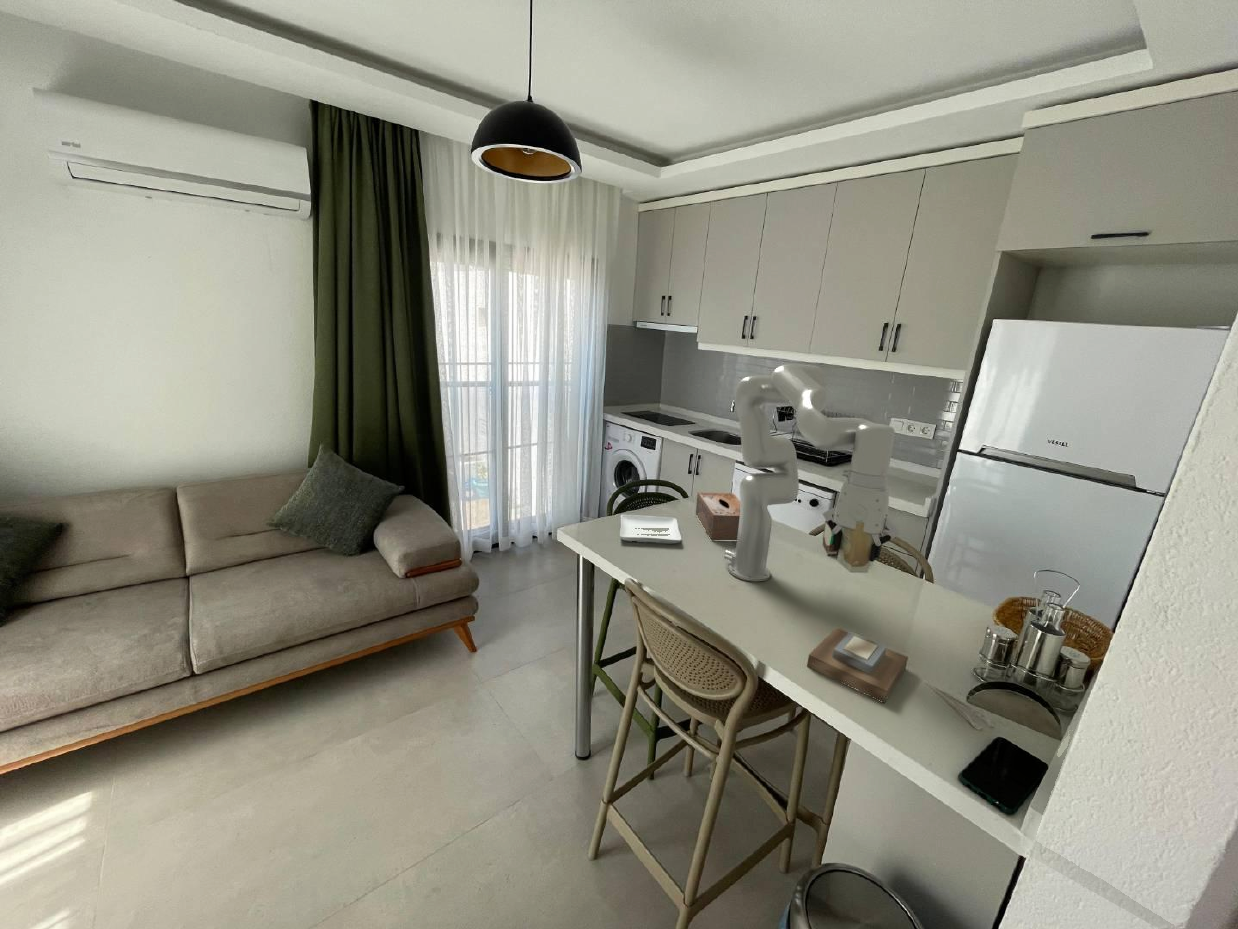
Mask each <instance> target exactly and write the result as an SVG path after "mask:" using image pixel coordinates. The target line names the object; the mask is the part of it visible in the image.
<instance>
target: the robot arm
mask: <svg viewBox="0 0 1238 929" xmlns="http://www.w3.org/2000/svg"><path fill="white" fill-rule="evenodd" d="M826 384H827V378H826V374H825V372H824V370H822V368H820V366H817V365H813V364H801V363H800V364H798V363H797V364H795V363H788V364H787V363H786V364H782V365H780V366H778V367H777V368H775V369H774V370H773V372H772V373H771V375H765V374H763V375H762V374H759V375H758V374H757V375H749V376H746V377H744V378H743V379H741V380H740V381H739V382H738V384H737V386H736V388H735V391H734V405H735V406H734V407H735V409H736V413H737V417H738V420H739V421H738V422H739V427H740V428H739V429H740V442H741V454H742V461H743V464H744V465H745V466H746V467H747V468H748V469H773V472H757V473H751V474H748V475H746V476H744V477H743V478H742V479H741V481H740V484H739V500H740V518H739V527H738V535H737V542H736V543H735V544H736V545H735V552H732V551H730V550H725V552H724V557H723V559H725V560H727V561H730V563H729V564H728V571H729V573H730V574H731V575H732V576H734V577H735V578H737V579H741V580H744V581H747V582H764V581H767V580H768V579H770V577H771V570H770V569H769V567H767V562H768V554H769V549H770V548H769V546H770V541H771V534H772V525H773V518H772V515H771V513H770V511H769V509H768V506H773V505H786V504H790V503H794V502H795V500H796V499H797V498H798V495H799V490H800V488H799V487H800V486H799V485H800V484H799V471H798V470H799V469H798V459H797V457H798V456H797V451H796V448H795V445H794V443H793V442H792V440H791V439H789V438H788V437H786V436H782V435H780V436H779V435H777V436H775V435H774V436H772V434H771V425H770V419H769V418H768V415H767V414H766V413H765V411H764V410H763V409H762V407H761V406H791V407H792V408H793V410H795V412H796V413H795V420H796V421H795V422H796V425H797V429H798V431H799V432H800V434H801V435H802V436H803V437H804V438H805V439H806V440H807V442H809V443H810V444H811V445H812V446H814V447H815V448H817V449H818V450H821V451H824V452H830V451H831V452H834V451H835V452H836V451H848V452H849V451H852V456H851V460H850V461H851V462H850V467H849V469H847V470H844V469H843V471H842V476H843V477H846V479H847V481H844V482H843V484H842V487H841V489H840V492H839V495H838V499H837V502H836V506H835V507H833V508H831V509H828V510H826V511H825V512H823V513H822V516H823V517H824V519H825V521H827V523H828V525H829V526H830V528H831V529H832V532H833V533H834V536H833V542H832V545H833V546H834V549H833V550H834V551H837V550H839V549H840V543H841V537H842V529H843V527H845V528H849V529H852V530H855V528H856V523H857V522H856V521H859V522H864V523H865V524H864V529H863V532H864V533H868V534H872V537H873V539H874V544H873V545H872V548H871V554H870V559H869V561H870V563H873V562H875V561H876V560H877V559H880V556H881V552H882V545H883V544H886V543H887V542H889V541H891V540H892V539H894V538H895V537H897V536H898V535H899V534H900V533H901V530H900V528H898V526H897V525H895V523H894V522H893V521H892V520H891V519H890V518H889V506H890V504H889V502H890V501H889V500H890V498H889V496H890V494H889V493H890V492H889V488H887V487H886V486H887V481H888V477H889V476H888V474H889V469H890V464H891V459H892V458H891V457H892V452H893V447H894V442H895V435H896V433H895V429H894V427H892V426H891V425H888V424H883V423H875V422H872V421H870V420H868V419H865V418H861V417H827V416H826V415H825V414H823V412H822V411H823V410H824V409H825V407H826V406H827V404H828V400H829V395H828V391H827V390H826ZM833 515H834V516H833ZM886 528H887V529H888V531H890V532H889V533H887V534H885V535H883V531H885V529H886Z"/></svg>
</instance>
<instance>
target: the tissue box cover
mask: <svg viewBox="0 0 1238 929" xmlns="http://www.w3.org/2000/svg"><path fill="white" fill-rule="evenodd" d="M695 505H696V506H695V514H696V515H697V516H698V518H699V520H700V521H701V523H702V525H703V527H704V528H705V530H706V532H707V534H708V535H709V537H710V539H711V540H737V535H738V527H739V518H740V498H738V497H737V496H736V494H734V493H730V492H704V491H703V492H700V491H699V492H697V496H696V504H695ZM703 527H702V528H703ZM706 532H705V533H706ZM707 534H706V535H707ZM709 537H708V538H709ZM710 539H709V540H710Z"/></svg>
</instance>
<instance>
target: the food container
mask: <svg viewBox="0 0 1238 929" xmlns="http://www.w3.org/2000/svg"><path fill="white" fill-rule="evenodd" d="M824 524H825V525H824V530H823V537H822V539H823V540H822V544H821V545H822V547H823V549H824V551H825V553H826V556H827V557H836V556H837V557H838V554H839V550H837V551H834V550H833V549H834V546H833V545H832V542H833V536H834V533H833V532H832V529H831V528H830V526H829V525H828V523H827V521H826V520H825V523H824ZM842 532H843V529H842Z"/></svg>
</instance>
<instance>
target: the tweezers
mask: <svg viewBox="0 0 1238 929" xmlns="http://www.w3.org/2000/svg"><path fill="white" fill-rule="evenodd" d="M923 681H924V680H923V679H922V682H923ZM924 683H925V685H927V686H928V687H929V688H931V690H933V691H934V692H935V693H936V694H938V695H939V696H940V697H941V698H942V699H943V700H944V701H945V702H946V703H948V704H949V705H950V707H953V709H954V710H956V711H957V713H959V714H960V715H961V716H962V717H963V718H964V719H965V721H966V722H968V723H969V724H970V725H971V726H972V727H973V728H974V729H975V730H977V731H980V730H983V726H980V725H978V724H977V723H976V722H974V721H973V719H972V718H971V717H970V716H969V714H967V713H966V712H965V710H967V711H968V712H969V713H971V714H972V715H974V716H975V717H976V718H979V719H980V720H981V721H983V722H984V723H985V724H987V726H988V728H993V727H994V723H993V721H992V720H991V719H990V718H988V717H986V715H985V714H983V713H982V712H980V711H979V710H977V709H976V708H974V707H973V706H972V705H969V704H968V703H966V702H964V701H962V700H960V699H958V698H957V697H955V696H953V695H951V694H949V693H948V692H946V691H944V690H943V689H941V688H939V687H937V686H935V685H934V684H931V682H928V681H927V682H926V681H925V682H924ZM950 699H951V700H950ZM953 701H954V702H953ZM956 703H957V704H958V705H959V706H960V707H962V708H963V709H965V710H963V709H961V708H960V707H959V706H958V705H957V704H956Z"/></svg>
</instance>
